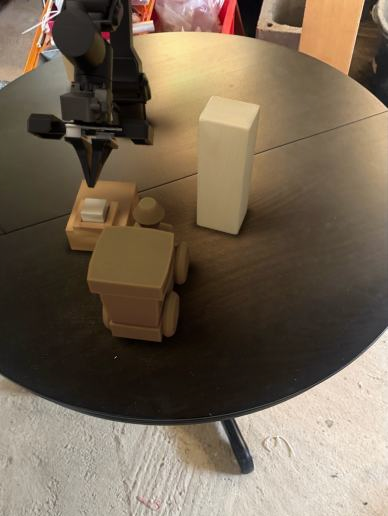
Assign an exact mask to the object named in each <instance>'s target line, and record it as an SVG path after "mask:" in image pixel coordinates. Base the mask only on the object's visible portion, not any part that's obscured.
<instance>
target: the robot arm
mask: <svg viewBox="0 0 388 516" xmlns="http://www.w3.org/2000/svg"><path fill="white" fill-rule="evenodd" d="M133 25H134V24H133V3H132V0H63V1H62V4H61V7H60V10H59V14H58V15H56V17H55V19H54V20H53V23H52V26H51V37H52V41H53V43H54V45H55V46H56V48H57V50H58V51H59V52H60V54H61V53H62V54H63V55H64V56H65V57H66V58H67V60H68V61H69V62H70V63H71V64H72V65H73V66H74V82H73V81H71V86H70V91H69V92H67V93H62V94H60V95H59V104H60V112H61V118H59V117H57V116H56V115H55V114H51V113H50V114H49V113H37V112H36V113H35V112H31V113H30V115H28V118H27V120H26V131H27V133H29V134H31V135H33V136H35V137H37V138H38V139H41V140H52V141H53V140H54V141H55V140H56V141H61V140H62V139H63V140H64V141H65V142H66V143H67V144H70V145H72V147H73V149H74V151H75V153H76V155H77V158H78V160H79V163H80V167H81V169H82V173H83V177H84V179H85V180H86V183H87V186H88V188H94V187H95V185H96V183H97V180H99V178H100V175H101V174H102V171H103V168H104V166H105V164H106V162H107V161H108V158H109V157H110V155H111V153H112V151H113V150H118V149H119V145H118V139H129V140H130V141H131V142H132V143H133V145H135V146H149V147H151V146H154V143H155V142H154V141H155V130H154V129H153V127H152V123H151V121H149V120H148V118H147V108H146V107H147V106H146V105H147V104H148V102H149V101H151V100H152V90H151V86H150V82H149V78H148V76H147V75H146V73H145V72H144V70H143V61H142V60H141V58H140V56H139V54H138V52H137V50H136V48H135V46H134V29H133V28H134V27H133ZM103 33H108V35H109V36H108V37H109V41H108V40H107V38H106V37H103V35H102V34H103ZM89 137H91V138H90V141H91V142H89V141H88V140H89Z"/></svg>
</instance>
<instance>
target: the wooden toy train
mask: <svg viewBox="0 0 388 516" xmlns="http://www.w3.org/2000/svg"><path fill="white" fill-rule="evenodd" d="M165 214H166V211H165V209H164V207H163V206H162V205H161V204H160V203H159V202H158V201H157V200H156V199H154V198H153V197H150V196H146V197H143V198H141V199H140V200H139V203H138V204H137V206H136V207H135V209H134V211H133V217H134V219H135V222H134V226H133V227H131V226H105V227H104V229H103V231H102V233H101V234H100V236H99V238H98V240H97V243H96V245H95V248H94V251H92V254H91V257H90V260H89V263H88V269H87V276H86V282H87V284H88V288H89V293H92V294H98V295H99V297H100V301H101V303H102V321H103V324H104V326H105V327H106V328H107V329H108V330H110V331H111V335H112V337H118V338H125V339H126V338H127V339H135V340H143V341H151V342H157V343H158V342H160V343H161V342H162V341H163V336H165V337H167V338H170V337H173V336H174V335H175V333H176V330H177V326H178V322H179V321H178V320H179V316H180V315H179V313H180V296H179V294H178V292H176V291H174V290H173V289H174V285H175V284H177V285H179V286H180V285H183V284H184V283H185V282H186V280H187V276H188V271H189V265H190V245H189V244H188V243H187V242H186V241H180V242H175V239H176V238H175V230H174V227H173V224H170V223H165V222H162V221H163V219H164V217H165Z"/></svg>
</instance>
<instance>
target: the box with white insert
mask: <svg viewBox="0 0 388 516" xmlns="http://www.w3.org/2000/svg"><path fill="white" fill-rule="evenodd" d="M137 184H138V183H137V182H129V181H116V180H115V181H113V180H99V179H98V180H97V183H96V185H95V187H94V188H88V186H87V183H86V180H85V178H82V180H81V184H80V186H79V189H78V192H77V195H76V198H75V201H74V203H73V207H72V209H71V212H70V215H69V219H68V221H67V225H66V227H65V234H66V237H67V240H68V243H69V246H70V249H71V250H73V251H75V250H76V251H86V252H87V251H88V252H93V251H94V248H95V245H96V243H97V240H98V238H99V236H100V234H101V233H102V231H103V229H104V227H105V226H131V227H133V226H134V224H135V222H136V220H135V219H134V217H133V211H134V209H135V207H136V206H137V204H138V203H139V201H140V200H139V199H140V198H139V192H138V191H139V190H138V185H137ZM85 198H90V199H104V200H107V205H108V212H107V216H106V219H105V223H92V222H83V220H82V216H81V210H82V207H83V204H84V201H85Z"/></svg>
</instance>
